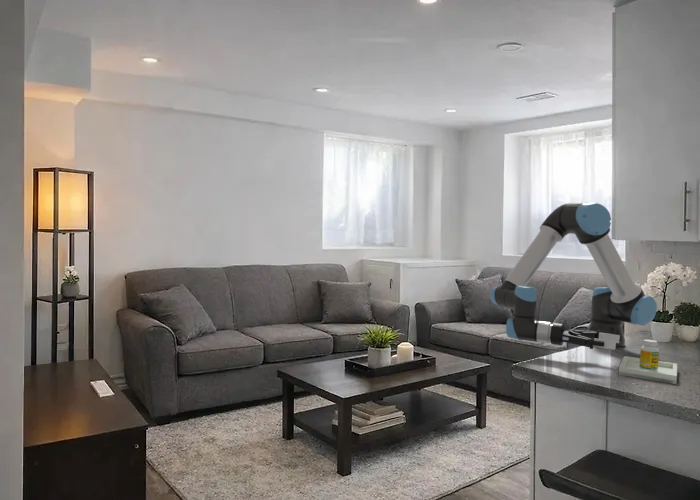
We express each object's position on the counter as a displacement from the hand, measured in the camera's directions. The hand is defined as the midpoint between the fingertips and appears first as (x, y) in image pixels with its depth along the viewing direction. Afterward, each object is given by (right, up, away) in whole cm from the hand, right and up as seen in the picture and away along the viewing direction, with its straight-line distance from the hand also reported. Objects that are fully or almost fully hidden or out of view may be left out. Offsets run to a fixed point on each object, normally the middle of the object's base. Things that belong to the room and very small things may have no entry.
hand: (617, 342), depth 191 cm
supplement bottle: (+8, -8, -4) cm, 12 cm away
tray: (+8, -9, -4) cm, 13 cm away
